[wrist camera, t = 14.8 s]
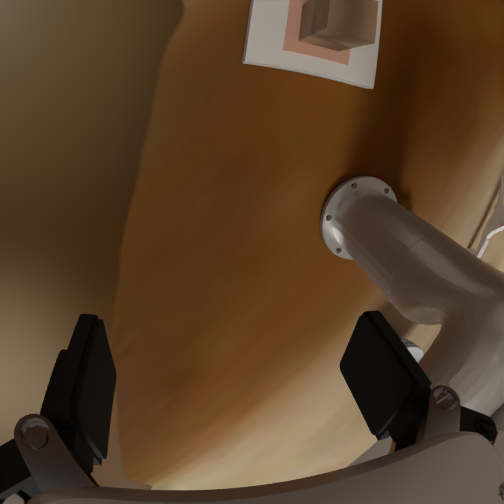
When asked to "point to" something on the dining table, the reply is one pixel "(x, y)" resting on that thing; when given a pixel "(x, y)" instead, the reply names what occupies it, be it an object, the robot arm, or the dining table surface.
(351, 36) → the walnut block
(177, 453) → the dining table surface
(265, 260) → the dining table surface
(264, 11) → the pocket board
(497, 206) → the llama figurine
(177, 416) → the dining table surface
